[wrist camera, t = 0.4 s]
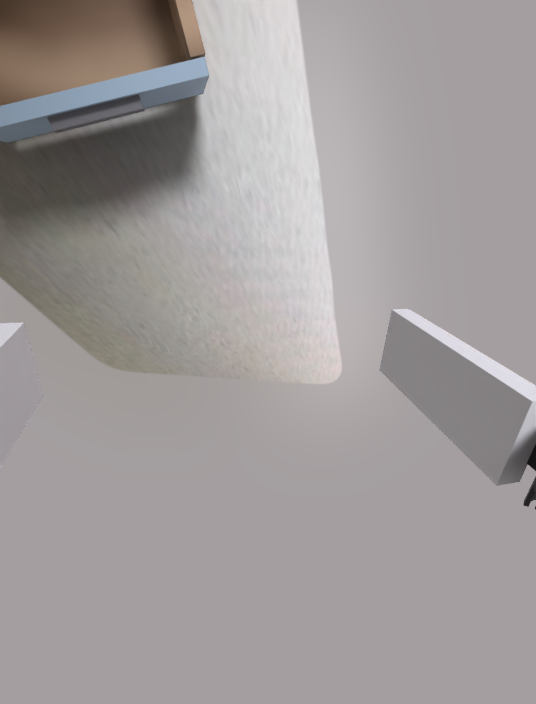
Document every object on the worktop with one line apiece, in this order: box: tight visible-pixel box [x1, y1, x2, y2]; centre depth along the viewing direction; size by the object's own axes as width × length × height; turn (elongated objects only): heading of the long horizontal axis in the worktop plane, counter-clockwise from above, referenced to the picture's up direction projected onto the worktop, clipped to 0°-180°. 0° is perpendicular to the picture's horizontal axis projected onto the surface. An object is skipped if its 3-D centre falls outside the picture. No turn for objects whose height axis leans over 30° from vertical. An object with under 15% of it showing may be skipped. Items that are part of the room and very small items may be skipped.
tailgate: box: [0, 57, 209, 143], centre depth 26 cm, size 2×16×6 cm, turn 102°
